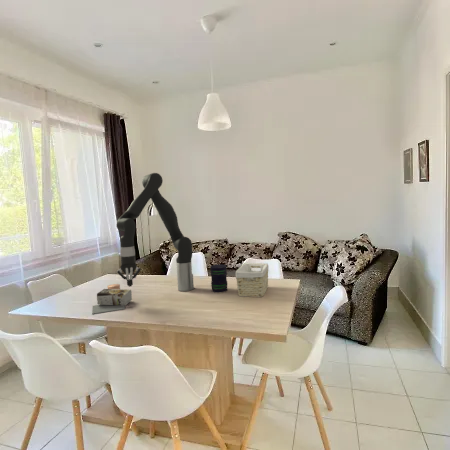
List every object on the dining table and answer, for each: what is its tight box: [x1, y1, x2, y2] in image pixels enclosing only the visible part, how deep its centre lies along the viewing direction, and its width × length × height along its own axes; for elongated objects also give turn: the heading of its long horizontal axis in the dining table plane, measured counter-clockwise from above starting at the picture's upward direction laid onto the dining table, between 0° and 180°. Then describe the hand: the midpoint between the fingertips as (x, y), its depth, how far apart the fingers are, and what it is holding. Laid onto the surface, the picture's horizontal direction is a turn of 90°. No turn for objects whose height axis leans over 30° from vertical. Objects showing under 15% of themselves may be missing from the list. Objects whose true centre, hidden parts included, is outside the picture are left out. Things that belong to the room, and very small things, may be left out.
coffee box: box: [96, 288, 133, 306], centre depth 181 cm, size 9×6×16 cm
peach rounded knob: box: [106, 283, 121, 289], centre depth 195 cm, size 7×7×7 cm
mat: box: [91, 304, 126, 315], centre depth 175 cm, size 16×14×1 cm
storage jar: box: [210, 264, 228, 293], centre depth 199 cm, size 10×10×15 cm
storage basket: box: [235, 262, 269, 298], centre depth 192 cm, size 24×16×15 cm
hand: (129, 286), depth 179 cm, fingers closed
